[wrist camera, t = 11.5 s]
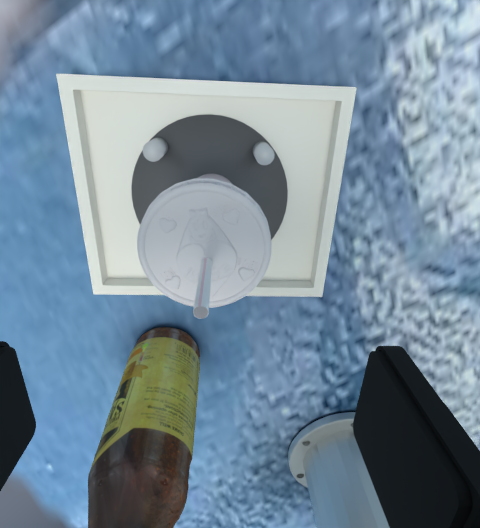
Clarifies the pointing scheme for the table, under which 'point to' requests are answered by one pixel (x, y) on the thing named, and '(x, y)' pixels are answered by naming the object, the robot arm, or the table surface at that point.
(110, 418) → the sauce bottle
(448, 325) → the table surface
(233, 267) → the smoothie
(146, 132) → the pin tray
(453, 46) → the table surface
